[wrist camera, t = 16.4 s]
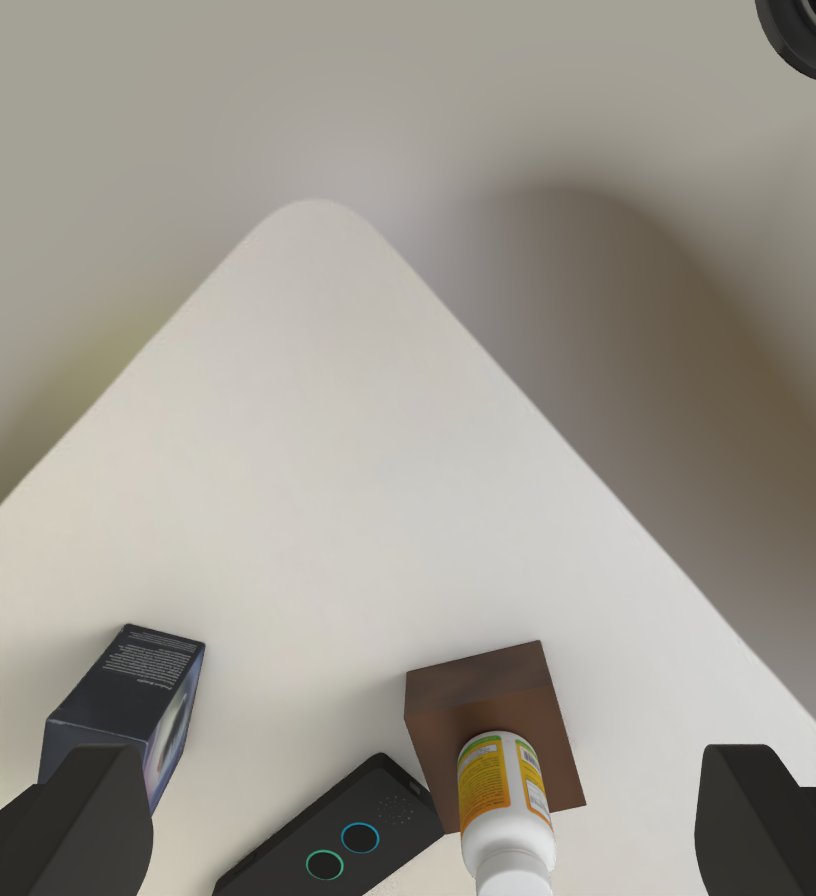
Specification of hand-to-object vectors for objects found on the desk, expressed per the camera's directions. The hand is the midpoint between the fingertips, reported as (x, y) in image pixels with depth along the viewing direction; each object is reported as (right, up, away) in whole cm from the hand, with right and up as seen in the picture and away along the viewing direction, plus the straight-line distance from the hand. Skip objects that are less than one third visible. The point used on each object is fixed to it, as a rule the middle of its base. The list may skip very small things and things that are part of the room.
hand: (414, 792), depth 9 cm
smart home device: (-6, -28, +43) cm, 51 cm away
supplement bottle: (+6, -16, +34) cm, 38 cm away
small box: (-19, -13, +39) cm, 46 cm away
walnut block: (+6, -15, +38) cm, 42 cm away
